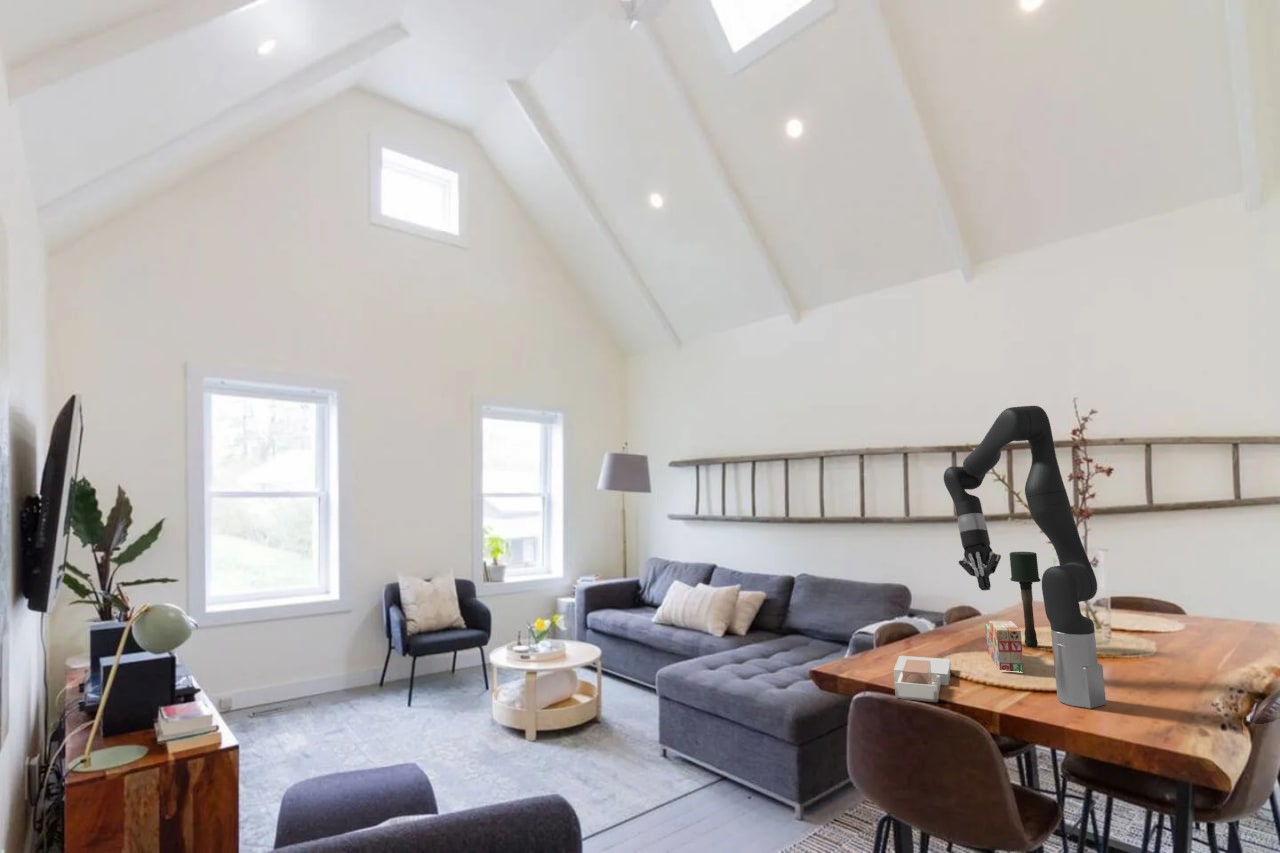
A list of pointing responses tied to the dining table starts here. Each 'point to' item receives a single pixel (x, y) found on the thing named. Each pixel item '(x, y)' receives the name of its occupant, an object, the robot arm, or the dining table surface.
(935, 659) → the white windowed box
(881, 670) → the dining table surface
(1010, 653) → the stack of blocks
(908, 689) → the tray
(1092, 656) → the robot arm
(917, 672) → the tan piece
